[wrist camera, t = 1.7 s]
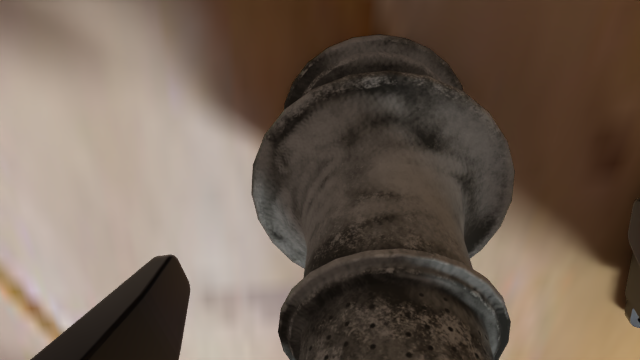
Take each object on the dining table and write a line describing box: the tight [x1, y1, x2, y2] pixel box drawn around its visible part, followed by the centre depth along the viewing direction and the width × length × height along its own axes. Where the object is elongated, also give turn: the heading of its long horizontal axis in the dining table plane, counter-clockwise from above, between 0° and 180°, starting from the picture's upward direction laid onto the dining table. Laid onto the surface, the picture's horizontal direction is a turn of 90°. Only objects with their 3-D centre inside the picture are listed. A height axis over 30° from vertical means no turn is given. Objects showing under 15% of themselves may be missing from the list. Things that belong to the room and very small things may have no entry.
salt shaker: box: [252, 34, 515, 360], centre depth 9 cm, size 6×6×12 cm
